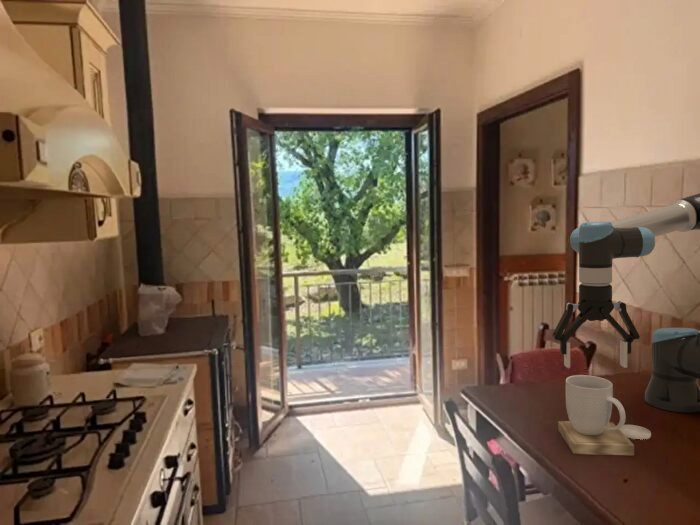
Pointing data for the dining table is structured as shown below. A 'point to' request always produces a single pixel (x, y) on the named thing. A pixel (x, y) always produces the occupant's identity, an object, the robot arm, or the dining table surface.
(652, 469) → the dining table surface
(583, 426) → the mug
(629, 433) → the white oval dome
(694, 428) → the dining table surface
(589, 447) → the base
